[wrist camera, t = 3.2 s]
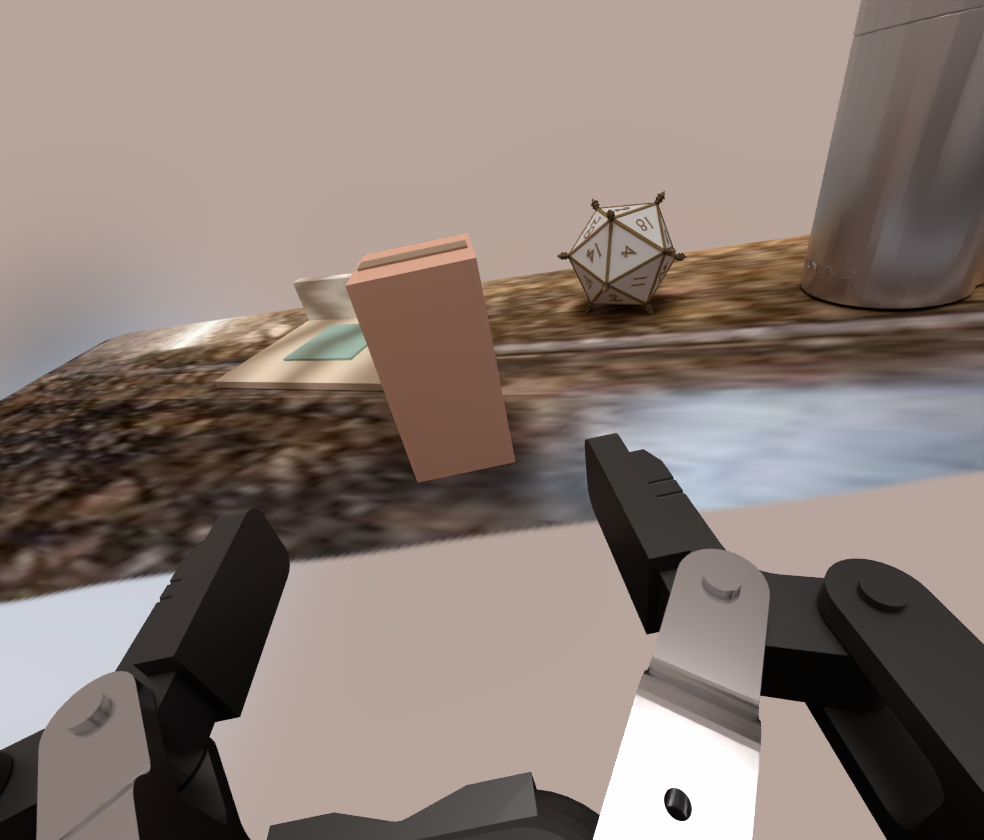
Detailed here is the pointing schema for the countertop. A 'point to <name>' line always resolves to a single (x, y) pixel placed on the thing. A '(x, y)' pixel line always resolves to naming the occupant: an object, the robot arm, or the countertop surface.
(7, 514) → the countertop surface
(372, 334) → the terracotta block
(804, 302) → the countertop surface
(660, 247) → the game die
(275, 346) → the beige flat tray shape
